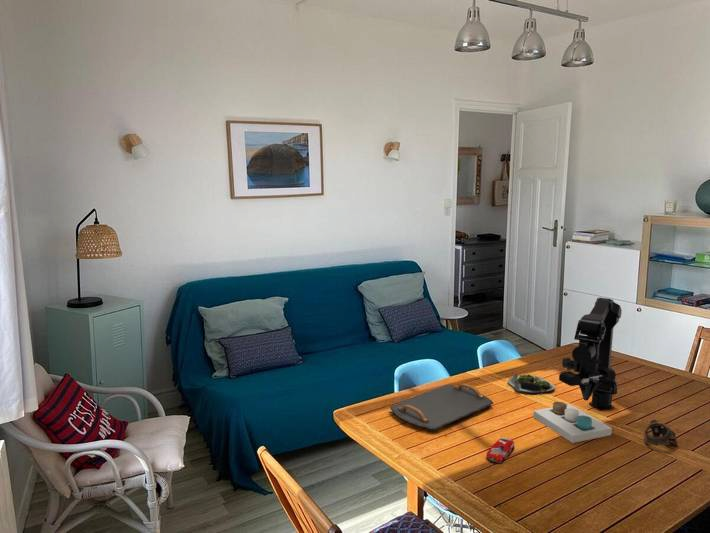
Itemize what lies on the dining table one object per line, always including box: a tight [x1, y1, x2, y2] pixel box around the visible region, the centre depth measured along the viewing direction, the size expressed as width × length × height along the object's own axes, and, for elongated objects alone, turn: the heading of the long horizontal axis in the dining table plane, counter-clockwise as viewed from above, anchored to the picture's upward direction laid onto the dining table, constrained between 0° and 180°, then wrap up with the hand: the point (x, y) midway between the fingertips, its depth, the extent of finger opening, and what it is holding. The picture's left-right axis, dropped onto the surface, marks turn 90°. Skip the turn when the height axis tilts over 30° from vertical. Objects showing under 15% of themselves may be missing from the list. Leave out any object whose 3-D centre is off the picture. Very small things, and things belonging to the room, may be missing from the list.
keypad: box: [532, 403, 613, 444], centre depth 185 cm, size 16×20×2 cm
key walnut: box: [552, 401, 568, 416], centre depth 190 cm, size 5×5×3 cm
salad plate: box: [507, 373, 556, 396], centre depth 221 cm, size 19×18×5 cm
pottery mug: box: [643, 419, 679, 448], centre depth 173 cm, size 12×10×8 cm
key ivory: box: [564, 408, 579, 423], centre depth 185 cm, size 5×5×3 cm
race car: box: [486, 437, 515, 464], centre depth 166 cm, size 13×5×4 cm, turn 141°
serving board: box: [389, 383, 494, 434], centre depth 198 cm, size 39×23×6 cm, turn 129°
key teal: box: [576, 416, 592, 431], centre depth 179 cm, size 5×5×3 cm
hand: (585, 400), depth 178 cm, fingers closed
